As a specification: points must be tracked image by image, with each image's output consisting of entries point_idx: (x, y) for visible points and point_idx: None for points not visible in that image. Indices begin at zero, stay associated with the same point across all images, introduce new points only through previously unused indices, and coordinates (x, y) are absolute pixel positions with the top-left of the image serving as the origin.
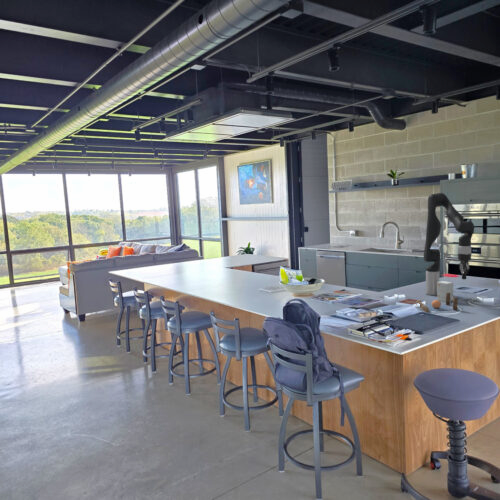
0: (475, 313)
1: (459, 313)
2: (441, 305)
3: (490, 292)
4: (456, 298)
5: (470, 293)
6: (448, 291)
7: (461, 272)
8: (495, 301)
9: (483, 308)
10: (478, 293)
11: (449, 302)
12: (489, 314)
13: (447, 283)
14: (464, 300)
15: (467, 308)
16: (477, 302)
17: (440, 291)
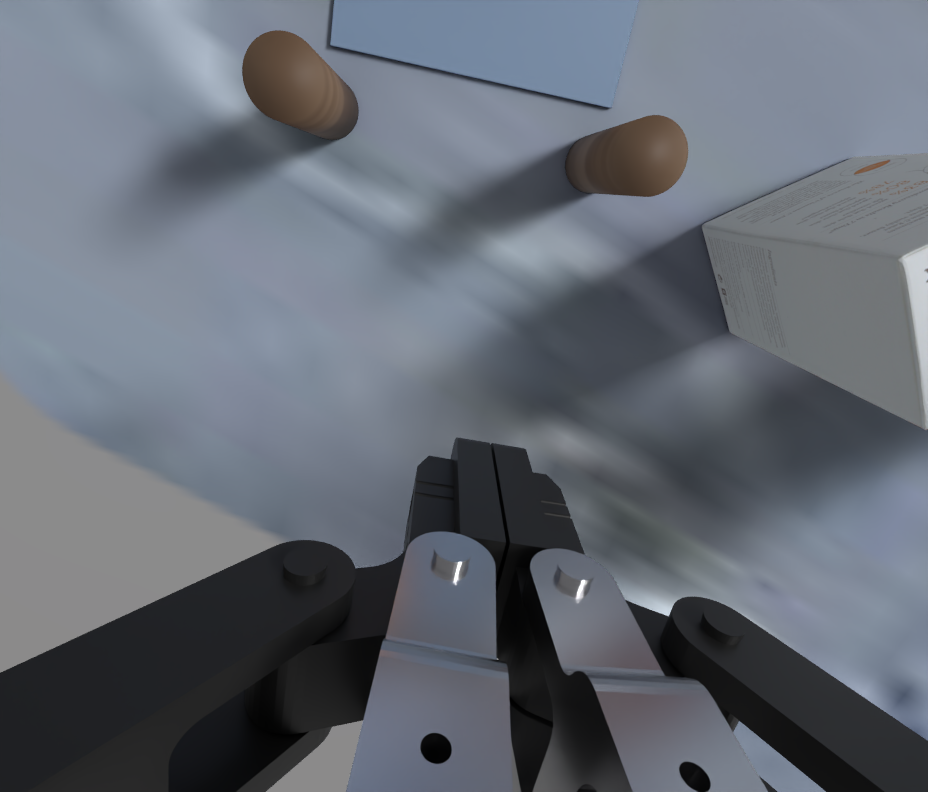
0: (135, 263)
1: (147, 58)
2: (576, 37)
3: None
4: (246, 77)
5: (895, 645)
6: (790, 266)
7: (570, 562)
8: None
9: (332, 458)
10: None
11: (573, 169)
12: (85, 383)
13: (916, 271)
14: (692, 459)
15: (367, 301)
16: None
17: (908, 176)
